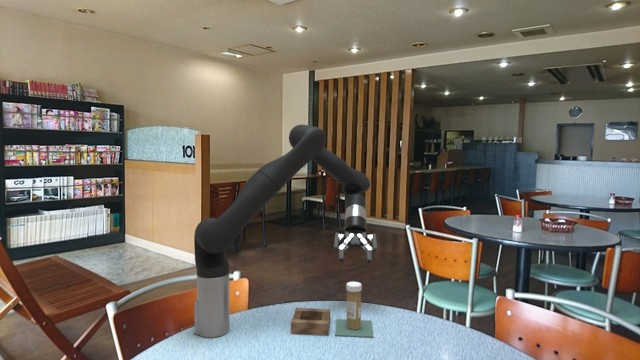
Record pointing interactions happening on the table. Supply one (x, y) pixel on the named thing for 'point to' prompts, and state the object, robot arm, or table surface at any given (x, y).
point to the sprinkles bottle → (353, 305)
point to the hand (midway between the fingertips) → (355, 261)
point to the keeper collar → (311, 321)
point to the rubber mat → (364, 331)
